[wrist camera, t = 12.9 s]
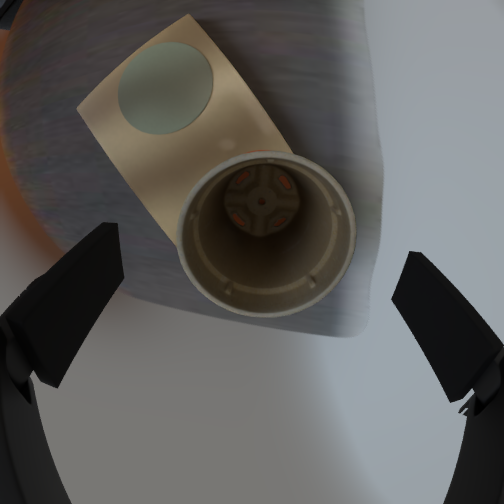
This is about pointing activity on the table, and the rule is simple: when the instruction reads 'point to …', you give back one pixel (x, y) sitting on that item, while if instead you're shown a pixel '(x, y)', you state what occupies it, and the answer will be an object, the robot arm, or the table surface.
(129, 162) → the board
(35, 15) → the table surface
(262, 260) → the flower pot
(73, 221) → the table surface
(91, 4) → the table surface
